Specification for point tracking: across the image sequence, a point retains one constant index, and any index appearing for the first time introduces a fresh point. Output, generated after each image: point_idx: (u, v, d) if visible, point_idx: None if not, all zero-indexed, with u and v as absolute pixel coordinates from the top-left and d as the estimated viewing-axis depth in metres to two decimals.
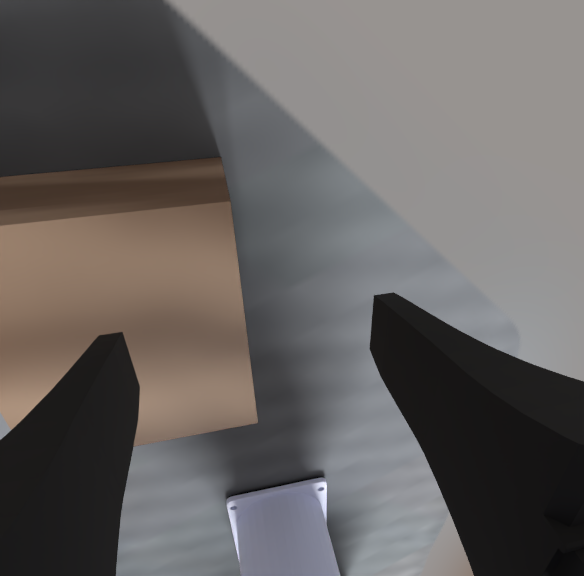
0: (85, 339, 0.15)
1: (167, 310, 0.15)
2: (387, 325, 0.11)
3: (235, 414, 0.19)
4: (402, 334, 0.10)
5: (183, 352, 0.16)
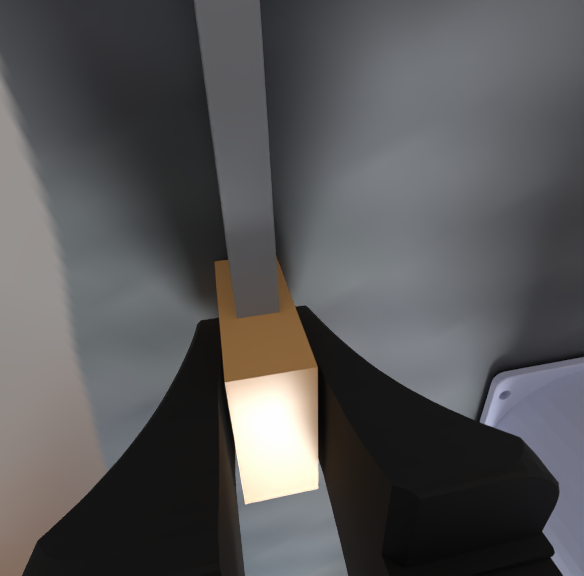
0: None
1: None
2: None
3: None
4: None
5: None
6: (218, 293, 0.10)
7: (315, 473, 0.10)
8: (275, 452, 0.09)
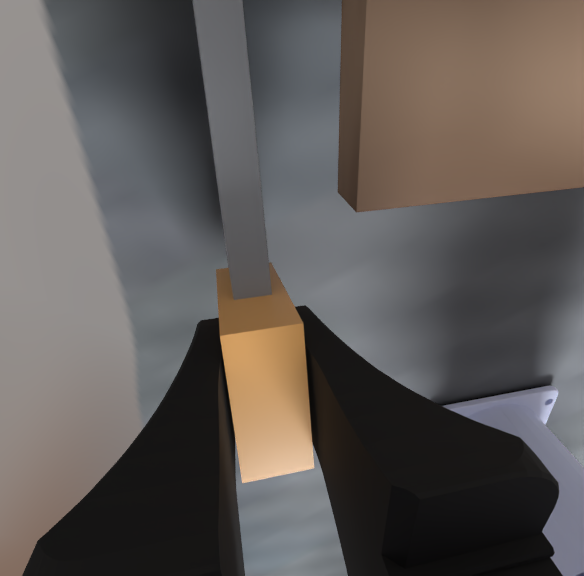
0: None
1: None
2: None
3: None
4: None
5: None
6: (218, 287, 0.12)
7: (310, 448, 0.10)
8: (269, 419, 0.10)
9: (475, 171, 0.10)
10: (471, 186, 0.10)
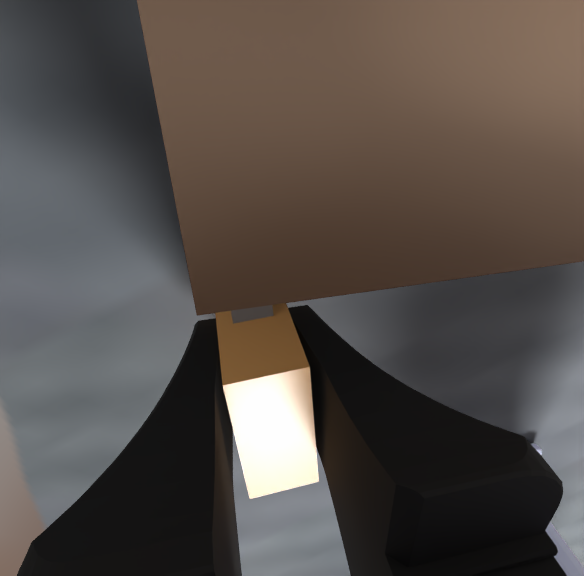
0: None
1: None
2: None
3: None
4: None
5: None
6: None
7: (315, 467, 0.10)
8: (275, 448, 0.10)
9: (383, 251, 0.06)
10: (380, 271, 0.06)
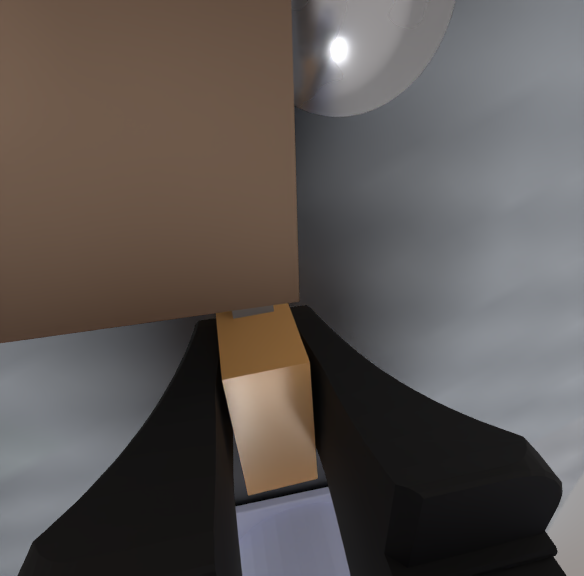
0: None
1: None
2: None
3: (229, 260, 0.06)
4: None
5: None
6: None
7: (314, 464, 0.10)
8: (274, 445, 0.09)
9: None
10: None
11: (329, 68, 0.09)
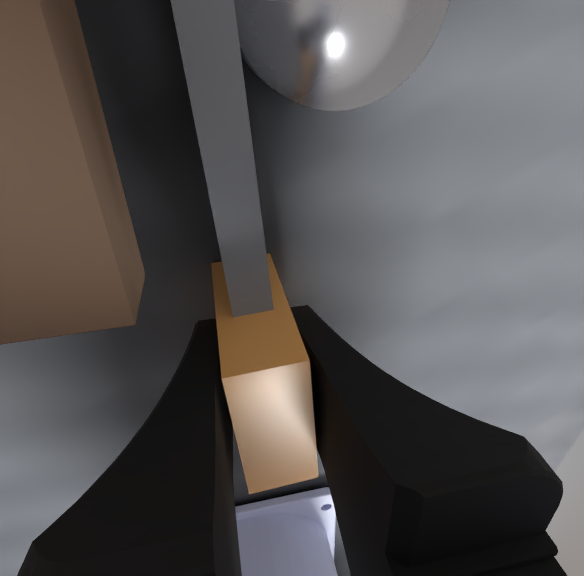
0: None
1: None
2: None
3: (42, 283, 0.05)
4: None
5: None
6: (215, 294, 0.11)
7: (314, 462, 0.10)
8: (274, 443, 0.09)
9: None
10: None
11: (326, 62, 0.09)
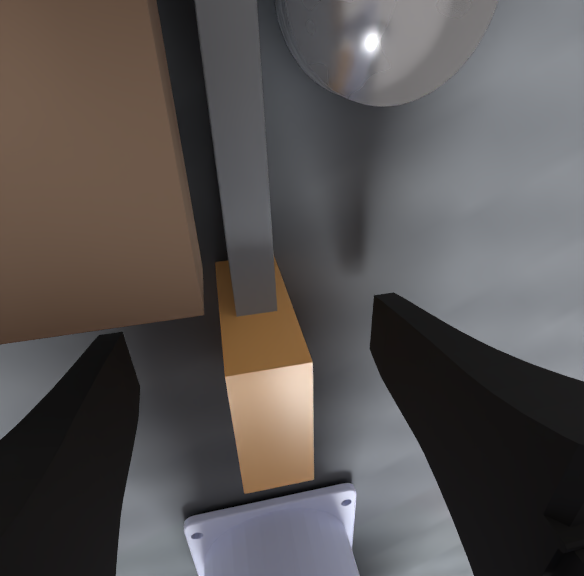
0: None
1: None
2: (387, 325, 0.11)
3: (121, 273, 0.06)
4: (402, 334, 0.10)
5: None
6: (219, 292, 0.11)
7: (311, 464, 0.10)
8: (273, 444, 0.09)
9: None
10: None
11: (377, 59, 0.09)
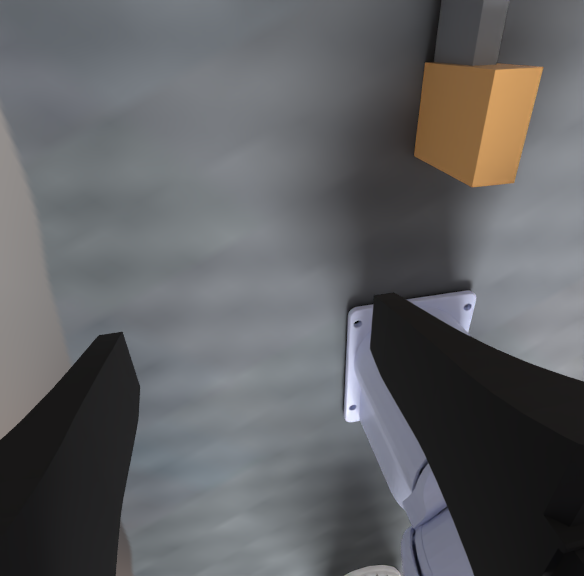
0: None
1: None
2: (387, 325, 0.11)
3: None
4: (402, 334, 0.10)
5: None
6: (447, 64, 0.16)
7: (516, 166, 0.16)
8: (501, 140, 0.15)
9: None
10: None
11: None
